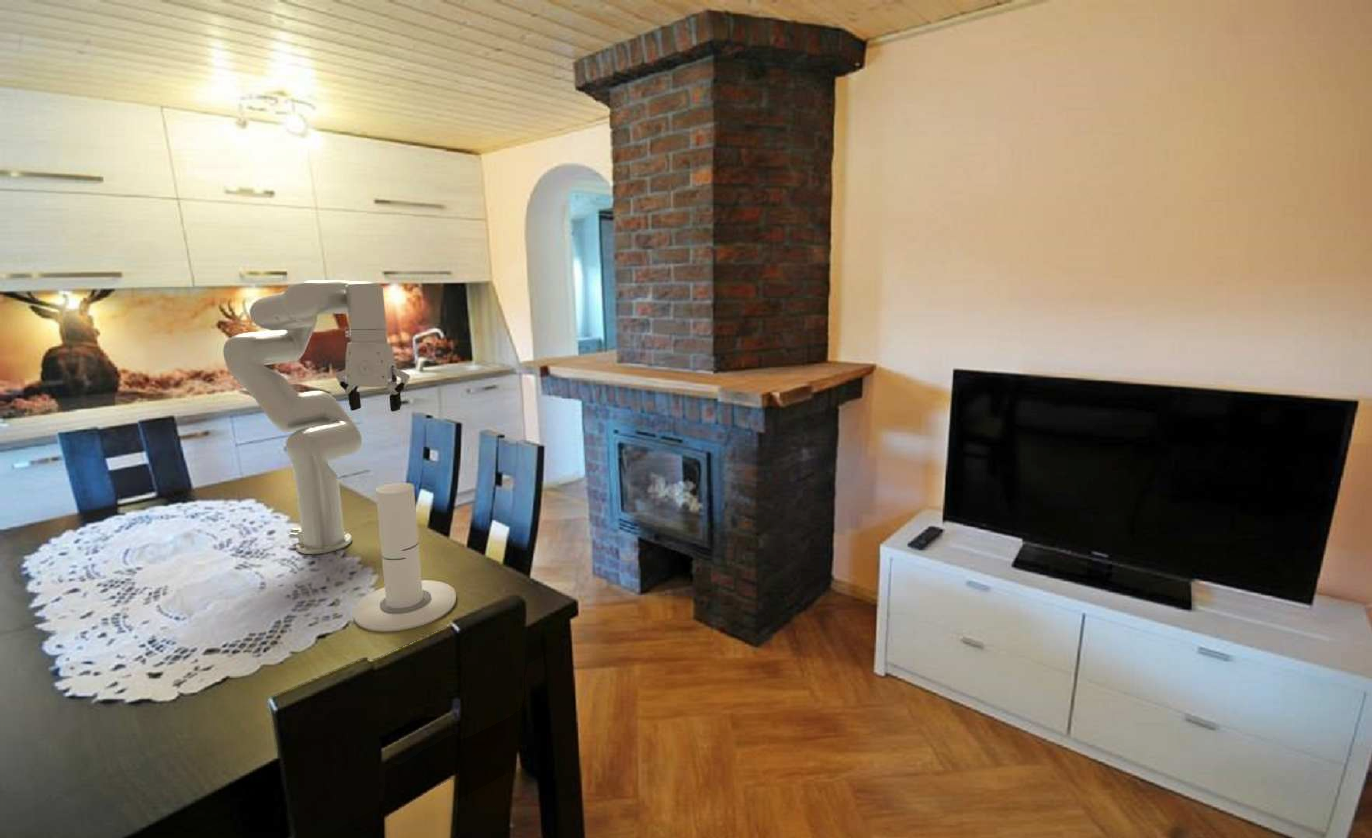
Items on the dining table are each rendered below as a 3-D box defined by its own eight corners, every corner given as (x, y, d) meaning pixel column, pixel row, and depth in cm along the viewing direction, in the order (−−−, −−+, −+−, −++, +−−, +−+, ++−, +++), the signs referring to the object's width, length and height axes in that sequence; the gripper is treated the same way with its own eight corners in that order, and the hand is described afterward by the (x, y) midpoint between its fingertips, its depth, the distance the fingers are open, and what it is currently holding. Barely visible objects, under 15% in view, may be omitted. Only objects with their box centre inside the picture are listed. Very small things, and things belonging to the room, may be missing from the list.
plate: (332, 629, 123) (331, 622, 123) (385, 582, 143) (385, 576, 142) (430, 633, 122) (429, 627, 122) (470, 586, 142) (470, 580, 141)
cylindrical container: (428, 599, 132) (419, 487, 127) (394, 611, 127) (384, 496, 122) (413, 588, 137) (404, 480, 132) (380, 599, 132) (369, 487, 127)
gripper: (322, 337, 139) (330, 412, 143) (397, 338, 138) (403, 414, 142) (342, 335, 146) (349, 406, 150) (413, 336, 145) (419, 407, 149)
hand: (375, 409), depth 146 cm, fingers open, 9 cm apart
